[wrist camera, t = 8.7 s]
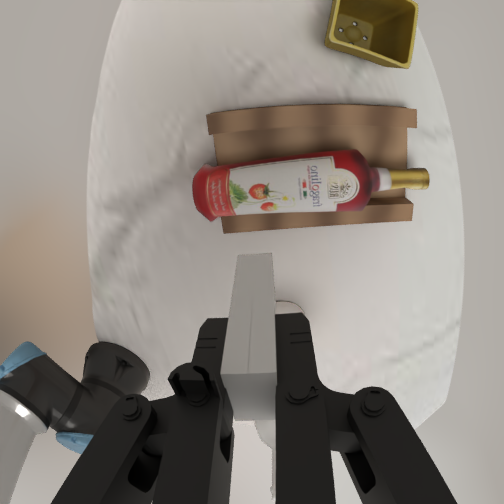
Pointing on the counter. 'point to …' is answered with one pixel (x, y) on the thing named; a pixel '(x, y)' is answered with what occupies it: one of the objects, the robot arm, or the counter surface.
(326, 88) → the counter surface
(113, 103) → the counter surface
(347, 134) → the rest
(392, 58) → the flower pot
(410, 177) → the liquor
